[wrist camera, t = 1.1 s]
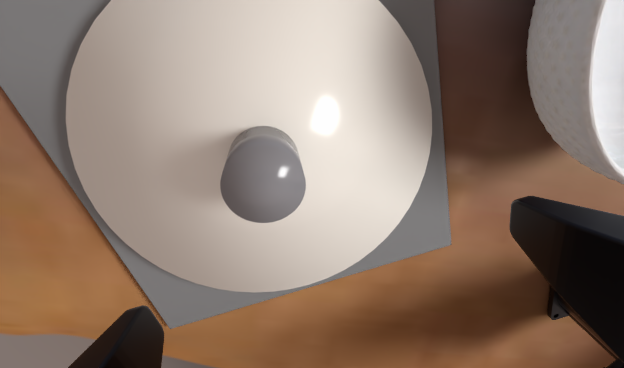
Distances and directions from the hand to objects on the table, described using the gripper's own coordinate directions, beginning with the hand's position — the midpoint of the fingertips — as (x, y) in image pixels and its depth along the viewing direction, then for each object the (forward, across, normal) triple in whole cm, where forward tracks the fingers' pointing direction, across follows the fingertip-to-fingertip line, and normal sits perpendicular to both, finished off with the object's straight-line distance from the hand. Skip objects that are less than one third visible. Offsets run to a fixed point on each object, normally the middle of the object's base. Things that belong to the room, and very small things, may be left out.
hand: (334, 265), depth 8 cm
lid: (+12, +2, +1) cm, 12 cm away
